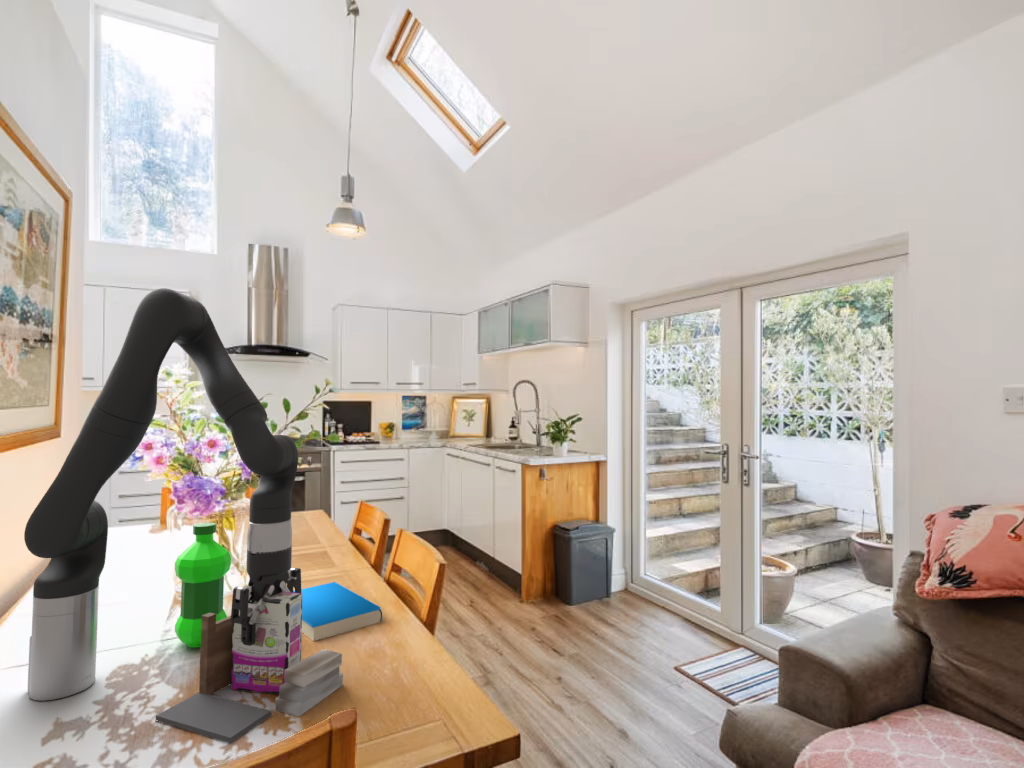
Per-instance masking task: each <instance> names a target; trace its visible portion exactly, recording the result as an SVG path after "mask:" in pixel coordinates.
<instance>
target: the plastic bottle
mask: <svg viewBox="0 0 1024 768" xmlns="http://www.w3.org/2000/svg"><path fill="white" fill-rule="evenodd" d="M192 528H193V530H192V531H193V532H192V534H193V535H194V536H195V541H194V542H192V543H191V544H190V545H189V546H188V547H186V548H185V549H184V551H182V552H181V553H180V554H179V555H178V556H177V558H176V560H175V562H174V571H175V575H176V577H177V578H179V580H181V589H180V590H181V593H180V594H181V595H180V615H179V617H178V618H177V620H176V622H175V625H174V633H175V634H176V637H177V638H178V639H179V641H180V642H182V644H185V645H186V646H187V647H188V648H193V649H196V648H201V616H202V615H205V614H207V613H214V614H216V622H217V621H219V620H222V619H224V618H226V617H228V616H227V614H226V612H225V610H224V589H225V588H224V587H225V586H224V585H225V583H224V582H225V581H224V580H225V575H226V574H228V572H229V571H230V569H231V564H232V556H231V554H230V551H228V550H227V549H226V548H225V547H223V546H222V545H221V544H220V543H219V542H217V541H215V540H214V534H215V533H217V523H216V522H200V523H196V524H194V525H193V526H192Z"/></svg>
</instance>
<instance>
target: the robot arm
mask: <svg viewBox="0 0 1024 768" xmlns="http://www.w3.org/2000/svg"><path fill="white" fill-rule="evenodd" d="M173 343H175V344H177V345H178V346H179V347H180V348H182V350H183V351H184V352H185V354H187V355H188V356H189V357H190V359H191V360H192V362H193V363H194V365H195V366H196V368H197V370H198V371H199V374H200V377H201V380H202V383H203V386H204V390H205V393H206V395H207V397H208V400H209V402H210V404H211V405H212V407H213V409H214V410H215V412H216V413H217V415H218V416H219V417H220V419H221V420H222V421H223V423H224V425H225V426H226V428H227V429H228V430H229V431H230V434H231V436H232V441H233V443H234V445H235V447H236V450H237V453H238V455H239V457H240V459H241V461H242V463H243V464H244V465H245V466H246V468H247V469H248V470H249V471H250V472H252V473H254V475H258V476H259V482H258V486H257V487H256V488H255V489H254V490H253V492H251V495H250V499H249V522H248V530H247V537H246V538H247V540H246V545H247V546H246V573H247V574H248V577H249V580H248V582H247V585H245V586H242V587H241V586H235V587H234V588H233V589H232V599H231V610H230V611H231V612H230V616H231V622H232V623H238V624H241V641H242V642H243V644H244V645H248V646H251V645H253V644H255V632H256V623H254V622H255V620H256V618H257V616H258V614H259V612H261V611H262V610H263V609H264V607H265V604H266V602H267V600H268V598H269V597H271V596H273V595H276V594H278V593H285V592H291V593H301V589H302V570H301V568H298V567H292V556H293V554H292V553H293V552H292V551H293V550H292V548H293V528H292V527H293V526H292V493H293V489H294V487H295V486H294V485H295V481H296V476H297V471H298V465H299V451H298V447H297V445H296V443H295V441H294V440H293V439H291V437H289V436H286V435H284V434H283V435H282V434H277V435H275V434H274V435H273V434H272V432H271V430H270V429H269V427H268V425H267V423H266V421H267V419H268V414H267V410H266V409H265V408H264V406H263V404H262V403H261V401H260V400H259V398H258V396H256V394H255V393H254V391H253V390H252V388H251V387H250V386H249V385H248V383H247V381H246V380H245V379H244V378H243V376H242V374H241V373H240V372H239V370H238V368H237V366H236V365H235V363H234V362H233V360H232V358H231V356H230V354H229V353H228V351H227V349H226V347H225V345H224V344H223V342H222V340H221V338H220V335H219V333H218V331H217V328H216V327H215V325H214V322H213V320H212V319H211V316H210V314H209V312H208V310H207V309H206V307H205V305H204V304H203V303H201V301H199V300H197V299H195V298H193V297H192V296H190V295H187V294H184V293H182V292H181V291H180V292H179V291H177V290H174V289H173V288H166V287H165V288H163V287H162V288H156V289H154V290H152V291H150V292H149V293H147V294H145V296H144V297H143V298H142V299H141V301H140V302H139V304H138V306H137V308H136V310H135V312H134V315H133V317H132V320H131V322H130V325H129V328H128V331H127V334H126V337H125V340H124V342H123V345H122V347H121V350H120V351H119V354H118V356H117V358H116V360H115V362H114V364H113V366H112V368H111V371H110V372H109V375H108V377H107V378H106V380H105V383H104V384H103V387H102V389H101V390H100V392H99V394H98V396H97V398H96V400H95V401H94V403H93V405H92V407H91V409H90V411H89V412H88V414H87V417H86V419H85V421H84V423H83V424H82V427H81V430H80V432H79V434H78V436H77V438H76V440H75V441H74V442H73V445H72V447H71V449H70V451H69V452H68V454H67V456H66V458H65V460H64V462H63V463H62V466H61V468H60V470H59V471H58V473H57V475H56V477H55V478H54V480H53V481H52V483H51V485H50V486H49V487H48V489H47V490H46V492H45V493H44V494H43V497H42V498H41V500H40V501H39V503H37V505H36V507H35V508H34V510H33V511H32V513H31V514H30V516H29V518H28V520H27V522H26V524H25V529H24V534H23V536H24V539H23V540H24V544H25V546H26V548H27V550H28V551H29V552H30V553H31V554H32V555H34V556H36V557H38V558H40V559H50V560H49V562H48V564H47V566H45V568H44V569H43V571H42V572H41V573H40V574H39V575H38V576H37V577H36V578H35V579H34V582H33V583H34V584H33V588H32V589H33V591H32V596H33V597H32V621H31V622H32V623H31V636H30V637H29V646H28V647H29V648H28V649H29V650H28V668H27V670H28V671H27V673H28V674H27V691H28V697H29V699H31V700H34V701H40V702H41V701H53V700H58V699H62V698H66V697H70V696H73V695H75V694H78V693H80V692H83V691H85V690H86V689H89V687H91V686H92V685H93V684H95V681H96V665H97V664H96V663H97V648H98V647H97V644H98V643H97V641H98V618H99V617H98V615H99V613H98V612H99V593H100V591H99V589H100V585H99V583H100V577H101V574H102V572H103V570H104V568H105V564H106V555H107V545H108V534H109V532H108V531H109V522H108V521H109V520H108V516H107V512H106V509H105V508H104V506H102V505H101V503H100V502H98V501H96V500H95V499H96V498H97V496H98V494H99V493H100V491H101V489H102V488H103V486H104V485H105V484H106V482H107V481H108V480H109V479H110V478H111V477H112V476H113V475H114V474H115V473H116V472H117V471H118V469H120V468H121V466H123V464H125V462H126V461H127V460H128V459H130V457H131V456H132V454H133V453H134V452H135V451H136V450H137V448H138V447H139V446H140V444H141V442H142V441H143V439H144V437H145V435H146V433H147V430H148V429H149V427H150V425H151V423H152V421H153V419H154V416H155V413H156V410H157V405H158V404H157V403H158V377H159V372H160V370H161V366H162V364H163V362H164V359H165V358H166V356H167V354H168V352H169V350H170V348H171V347H172V345H173ZM293 591H295V592H293ZM252 599H254V601H256V602H259V603H258V604H256V605H255V604H252ZM239 610H240V615H239ZM251 610H253V611H252V613H251V615H250V616H248V615H249V613H250V611H251Z"/></svg>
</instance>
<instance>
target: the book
mask: <svg viewBox="0 0 1024 768" xmlns="http://www.w3.org/2000/svg"><path fill="white" fill-rule="evenodd" d="M293 592H295V590H293ZM301 593H302V631H301V634H303V633H304V634H303V635H305V636H306V637H308V638H309V639H310V640H311V641H312V642H316V641H319V639H320V640H323V639H326V637H327V638H330V637H333V636H337V635H340V634H344V633H348V632H351V631H354V630H358V629H362V628H365V627H368V626H372V625H375V624H378V622H379V623H381V622H382V620H383V619H382V618H383V611H382V609H381V606H379V605H377V604H376V603H373V602H371V601H369V600H368V599H366V598H364V597H363V596H361V595H359V594H357V593H355V591H352V590H350V589H348V588H346V587H344V586H343V585H341V584H339V583H337V582H335V581H332V582H328V583H323V584H319V585H314V586H310V587H305V588H301Z"/></svg>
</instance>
